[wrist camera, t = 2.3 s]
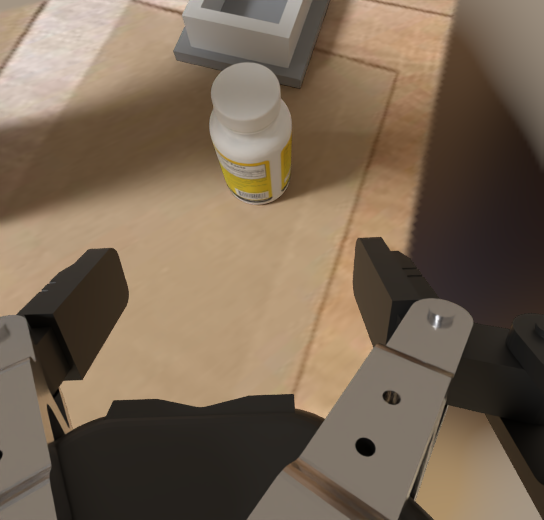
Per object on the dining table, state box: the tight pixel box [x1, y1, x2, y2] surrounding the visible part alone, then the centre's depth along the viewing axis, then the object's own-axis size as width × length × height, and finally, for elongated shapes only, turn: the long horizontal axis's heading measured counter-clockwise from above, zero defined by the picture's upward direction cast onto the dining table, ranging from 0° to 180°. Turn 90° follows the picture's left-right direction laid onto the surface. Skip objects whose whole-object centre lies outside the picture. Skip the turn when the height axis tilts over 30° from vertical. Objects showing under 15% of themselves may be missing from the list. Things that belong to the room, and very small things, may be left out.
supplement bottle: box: [209, 62, 292, 205], centre depth 24 cm, size 5×5×10 cm
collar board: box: [173, 0, 330, 88], centre depth 31 cm, size 12×11×4 cm
